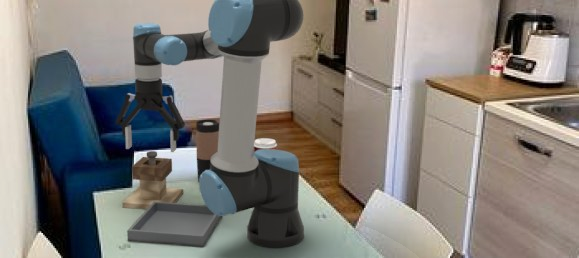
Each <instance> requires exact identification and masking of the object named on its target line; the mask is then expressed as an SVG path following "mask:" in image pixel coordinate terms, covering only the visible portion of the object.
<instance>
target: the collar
mask: <svg viewBox="0 0 579 258" xmlns="http://www.w3.org/2000/svg"><path fill="white" fill-rule="evenodd" d="M155 159H156V165H149V157H147V156H142V157H141V158H140V159H139V160H137V161H136V162H135V163H134V164H133V165H132V166H131V176H132V180H136V181H137V180H138V181H140V180H150V181H163V180H164V179H165V178H166V179H167V177H168V176H170V174H171V173H172V172H173V160H172V158H165V157H155Z"/></svg>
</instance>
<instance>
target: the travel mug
mask: <svg viewBox="0 0 579 258" xmlns="http://www.w3.org/2000/svg"><path fill="white" fill-rule="evenodd" d="M219 123H220V121H219V122H218V121H217V120H216V119H210V118H209V119H201V120H198V121H196V123H195V125H196V126H195V127H196V130H195V134H196V136H195V137H196V168H197V169H196V170H197V182H198V183H199V178H200V175H201V174H202V173H203V172H204V171H205V170H210V161H211V157H212V156H213V155H214V154H215V153H217V152H218V137H219Z"/></svg>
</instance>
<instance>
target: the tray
mask: <svg viewBox="0 0 579 258" xmlns="http://www.w3.org/2000/svg"><path fill="white" fill-rule="evenodd" d="M222 217H223V216H218V215H216V214H214V213H213V212H212V211H211V210H210V209H209V208H208V207H207V205H206V204H193V203H181V202H179V203H177V202H176V203H167V202H153V203H152V204H151V205H150V206H149V207H148V209H145V210H144V212H142V214H140V216H139V217H138V218H137V219H136V220H135V221H134V222H133V223H132V225H131V226H129V228H128V229H127V231H126V232H127V233H126V234H127V242H135V243H148V244H159V245H161V244H162V245H171V246H173V245H174V246H183V247H185V246H187V247H196V248H197V247H199V248H204V246H205V245H206V243H207V241H208V240H209V238H210V237H211V236H212V233H213V232H214V230H215V229H216V227H217V225H218V224H219V222H220V220H221V219H222Z"/></svg>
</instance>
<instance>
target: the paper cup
mask: <svg viewBox="0 0 579 258" xmlns="http://www.w3.org/2000/svg"><path fill="white" fill-rule="evenodd" d="M277 146H278V143H277V142H276V140H275V139H273V138H266V137H263V138H262V137H261V138H257V139H255V140H254V151H253V152H255V151H257V150H260V149H275V150H277Z"/></svg>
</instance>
